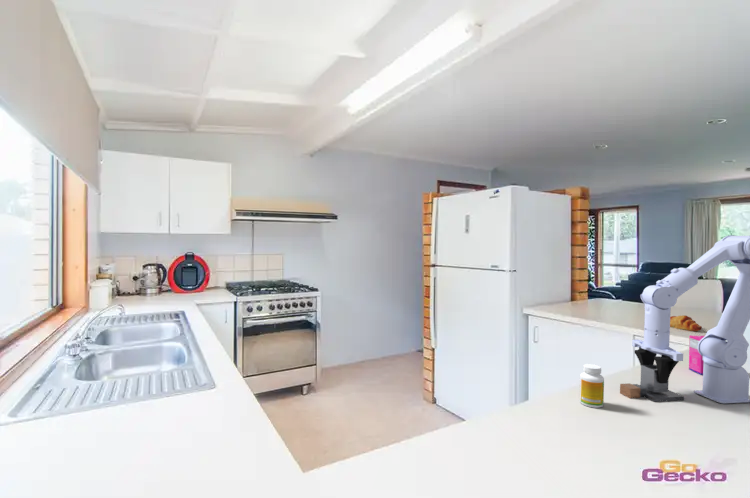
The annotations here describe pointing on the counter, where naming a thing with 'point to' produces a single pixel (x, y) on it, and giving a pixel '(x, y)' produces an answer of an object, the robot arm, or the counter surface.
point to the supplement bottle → (591, 386)
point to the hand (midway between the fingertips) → (654, 379)
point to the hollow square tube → (652, 379)
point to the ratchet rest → (648, 393)
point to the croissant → (684, 323)
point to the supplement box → (695, 355)
